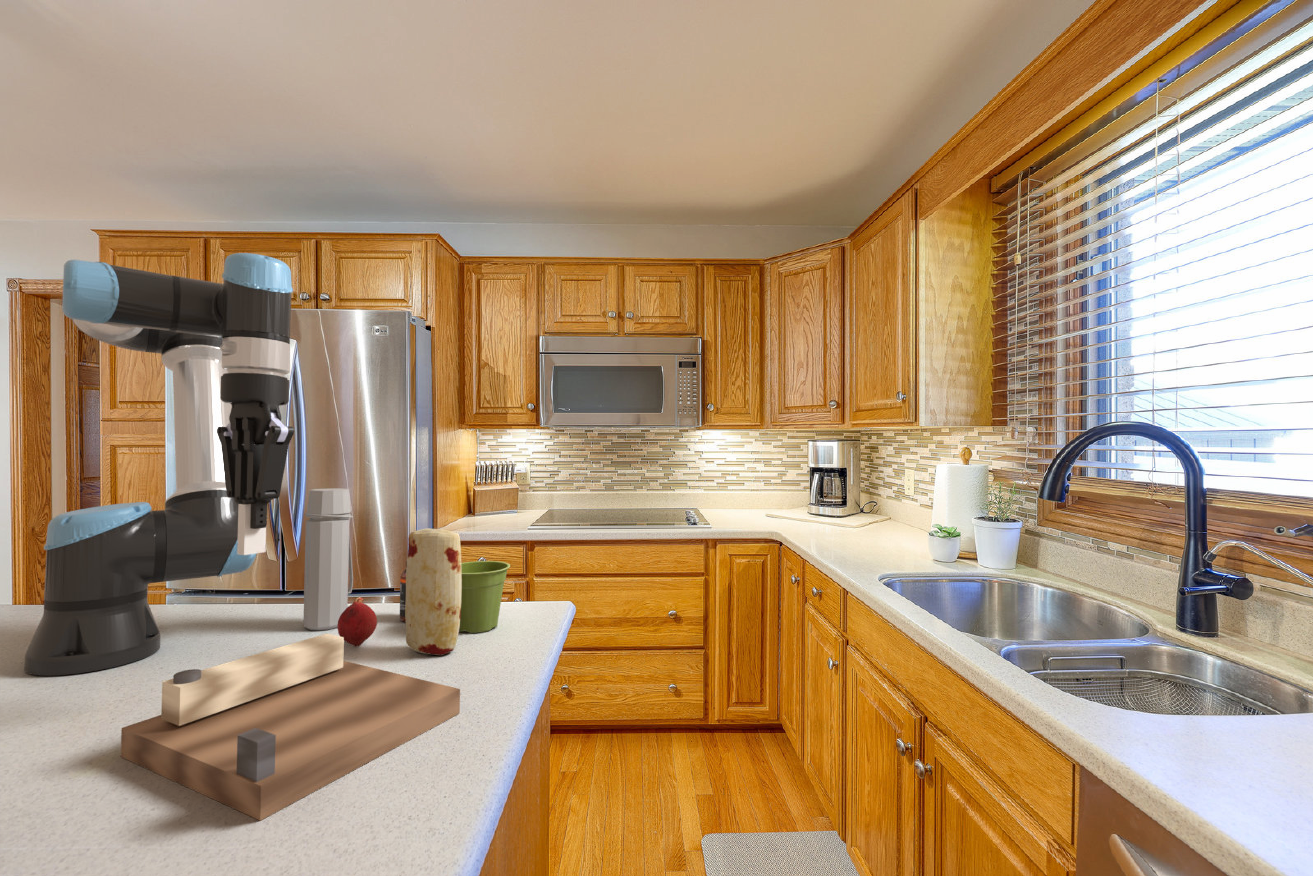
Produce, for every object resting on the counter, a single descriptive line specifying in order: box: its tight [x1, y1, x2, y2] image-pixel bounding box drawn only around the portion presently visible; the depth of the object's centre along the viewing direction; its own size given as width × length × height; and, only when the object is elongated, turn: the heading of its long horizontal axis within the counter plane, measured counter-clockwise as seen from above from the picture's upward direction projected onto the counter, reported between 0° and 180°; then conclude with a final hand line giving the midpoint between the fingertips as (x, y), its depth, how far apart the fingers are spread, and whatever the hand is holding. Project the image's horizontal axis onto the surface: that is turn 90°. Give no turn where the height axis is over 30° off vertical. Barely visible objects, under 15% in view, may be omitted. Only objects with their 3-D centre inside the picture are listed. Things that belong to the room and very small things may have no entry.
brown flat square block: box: [120, 660, 461, 821], centre depth 68 cm, size 24×24×6 cm
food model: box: [405, 527, 462, 656], centre depth 96 cm, size 10×7×20 cm
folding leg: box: [160, 633, 345, 726], centre depth 72 cm, size 19×4×5 cm, turn 154°
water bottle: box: [302, 487, 355, 631], centre depth 110 cm, size 9×8×25 cm
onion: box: [337, 596, 378, 648], centre depth 98 cm, size 6×6×8 cm
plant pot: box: [459, 560, 511, 634], centre depth 109 cm, size 12×12×11 cm
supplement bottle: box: [399, 560, 407, 623], centre depth 114 cm, size 6×6×11 cm
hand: (251, 552), depth 78 cm, fingers closed
